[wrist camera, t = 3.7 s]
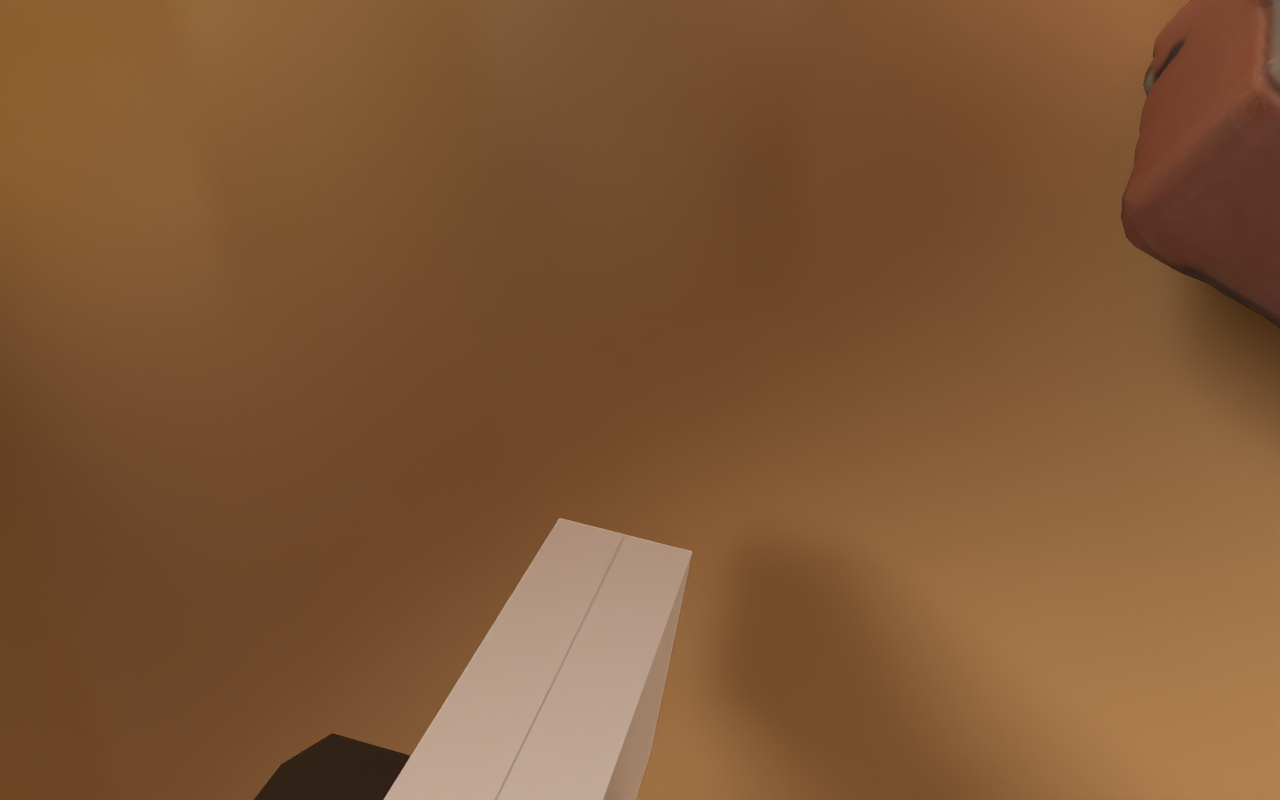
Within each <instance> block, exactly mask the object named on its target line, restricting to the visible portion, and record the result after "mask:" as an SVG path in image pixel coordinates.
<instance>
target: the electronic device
mask: <svg viewBox="0 0 1280 800" xmlns="http://www.w3.org/2000/svg"><path fill="white" fill-rule="evenodd" d="M1153 58H1154V60H1153V61H1152V63H1151V65H1150V67H1149V68H1148V70H1147V72H1146V76H1145V80H1144V84H1143V86H1144V89H1145V92H1146V95H1147V99H1146V101H1145V104H1144V107H1143V112H1142V118H1141V125H1140V136H1139V139H1138V143H1137V146H1136V150H1135V159H1134V169H1133V171H1132V174H1131V177H1130V179H1129V182H1128V184H1127V187H1126V190H1125V192H1124V195H1123V197H1122V214H1121V218H1122V222H1123V226H1124V230H1125V234H1126V237H1127V238H1128V239H1129V241H1130V242H1131V243H1132V244H1133V245H1134V246H1135V247H1137V248H1139V249H1140V250H1142V251H1144V252H1146V253H1147V254H1149V255H1151V256H1152V257H1154V258H1156V259H1158V260H1159V261H1161V262H1163V263H1164V264H1166V265H1168V266H1170V267H1171V268H1173V269H1175V270H1177V271H1179V272H1181V273H1183V274H1185V275H1188V276H1190V277H1193V278H1195V279H1198V280H1200V281H1203V282H1206V283H1208V284H1210V285H1212V286H1213V287H1214V288H1216V289H1217V290H1218V291H1220V292H1222V293H1223V294H1225V295H1227V296H1229V297H1230V298H1232V299H1234V300H1235V301H1237V302H1239V303H1241V304H1242V305H1244V306H1246V307H1248V308H1250V309H1251V310H1253V311H1255V312H1257V313H1259V314H1261V315H1263V316H1264V317H1265V318H1267V319H1268V320H1270V321H1271V322H1273V323H1274V324H1276V325H1277V326H1278V327H1280V0H1191V1H1190V2H1189V3H1188V4H1187V5H1186V6H1185V7H1184V8H1183V9H1182V10H1181V11H1180V12H1179V13H1178V14H1177V15H1176V16H1175V17H1174V18H1173V19H1172V20H1171V21H1170V22H1169V23H1168V24H1167V25H1166V26H1165V27H1164V28H1163V30H1162V31H1161V33H1160V34H1159V36H1158V37H1157V39H1156V41H1155V45H1154V52H1153Z"/></svg>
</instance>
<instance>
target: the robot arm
mask: <svg viewBox="0 0 1280 800" xmlns="http://www.w3.org/2000/svg"><path fill="white" fill-rule="evenodd" d="M692 552H693V551H690V550H686V549H682V548H678V547H674V546H670V545H666V544H662V543H658V542H654V541H650V540H646V539H642V538H638V537H634V536H630V535H626V534H622V533H618V532H614V531H610V530H606V529H602V528H598V527H594V526H590V525H586V524H582V523H579V522H575V521H571V520H567V519H563V518H559V519H558V521H557V522H556V524H555V525H554V527H553V529H552V530H551V532H550V533H549V535H548V537H547V538H546V540H545V542H544V543H543V545H542V546H541V548H540V550H539V551H538V553H537V554H536V556H535V558H534V559H533V561H532V562H531V564H530V566H529V567H528V569H527V570H526V572H525V574H524V575H523V577H522V578H521V580H520V582H519V583H518V585H517V586H516V588H515V590H514V591H513V593H512V594H511V596H510V598H509V599H508V601H507V602H506V604H505V606H504V607H503V609H502V610H501V612H500V614H499V615H498V617H497V619H496V620H495V622H494V623H493V625H492V627H491V628H490V630H489V631H488V633H487V635H486V636H485V638H484V639H483V641H482V643H481V644H480V646H479V647H478V649H477V651H476V652H475V654H474V655H473V657H472V659H471V660H470V662H469V663H468V665H467V667H466V668H465V670H464V671H463V673H462V675H461V676H460V678H459V679H458V681H457V683H456V684H455V686H454V687H453V689H452V691H451V692H450V694H449V696H448V697H447V699H446V700H445V702H444V704H443V705H442V707H441V708H440V710H439V712H438V713H437V715H436V716H435V718H434V720H433V721H432V723H431V724H430V726H429V728H428V729H427V731H426V732H425V734H424V736H423V737H422V739H421V740H420V742H419V744H418V745H417V747H416V748H415V750H414V752H413V753H412V755H411V756H409V755H406V754H402V753H399V752H395V751H392V750H388V749H385V748H381V747H378V746H374V745H371V744H368V743H364V742H361V741H357V740H354V739H350V738H347V737H343V736H340V735H336V734H333V733H332V734H331V735H329V736H327V737H326V738H324V739H322V740H321V741H319V742H317V743H316V744H314V745H312V746H311V747H309V748H307V749H306V750H304V751H303V752H301V753H299V754H298V755H296V756H294V757H293V758H291V759H289V760H288V761H286V762H284V763H283V764H281V766H280V767H279V768H278V769H277V771H276V772H275V773H274V775H273V776H272V777H271V778H270V780H269V781H268V782H267V784H266V785H265V786H264V787H263V789H262V790H261V791H260V793H259V794H258V795H257V796H256V798H255V799H254V800H636V798H637V795H638V792H639V789H640V785H641V782H642V779H643V776H644V773H645V770H646V767H647V764H648V761H649V757H650V754H651V750H652V745H653V740H654V735H655V731H656V726H657V721H658V716H659V711H660V707H661V702H662V697H663V692H664V687H665V682H666V678H667V673H668V668H669V663H670V658H671V653H672V649H673V644H674V639H675V634H676V629H677V625H678V620H679V615H680V610H681V605H682V600H683V596H684V591H685V586H686V581H687V576H688V572H689V567H690V562H691V557H692Z"/></svg>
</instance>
